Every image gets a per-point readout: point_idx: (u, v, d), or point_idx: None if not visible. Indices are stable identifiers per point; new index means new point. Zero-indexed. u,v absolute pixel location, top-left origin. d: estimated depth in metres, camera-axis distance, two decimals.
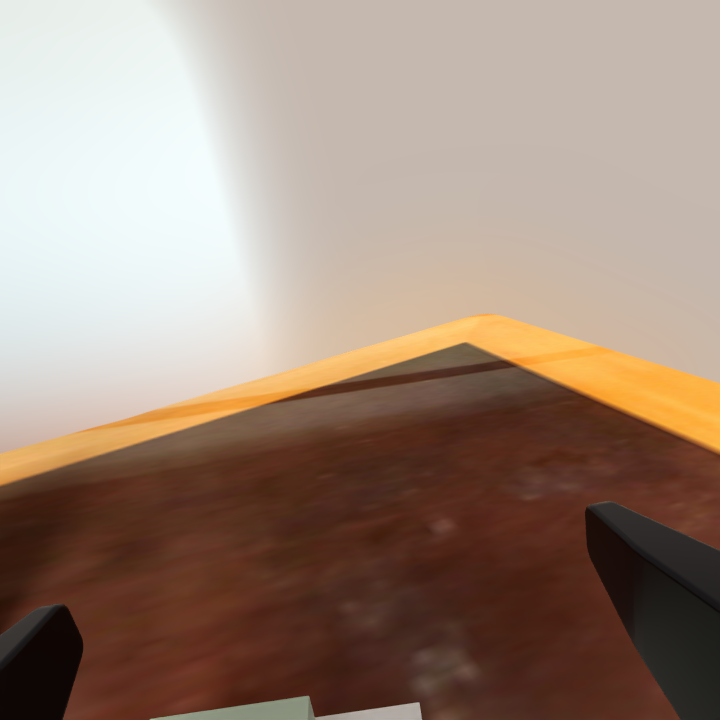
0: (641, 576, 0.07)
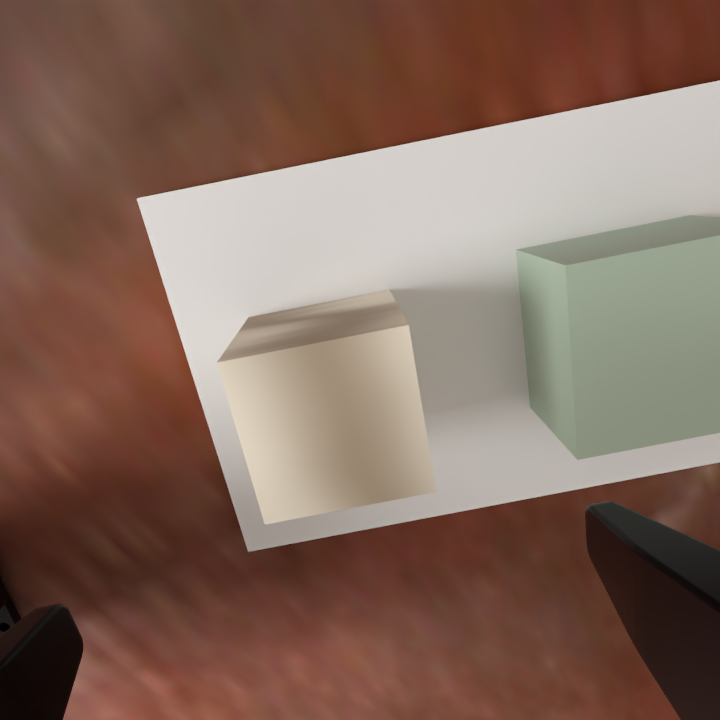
0: (641, 576, 0.07)
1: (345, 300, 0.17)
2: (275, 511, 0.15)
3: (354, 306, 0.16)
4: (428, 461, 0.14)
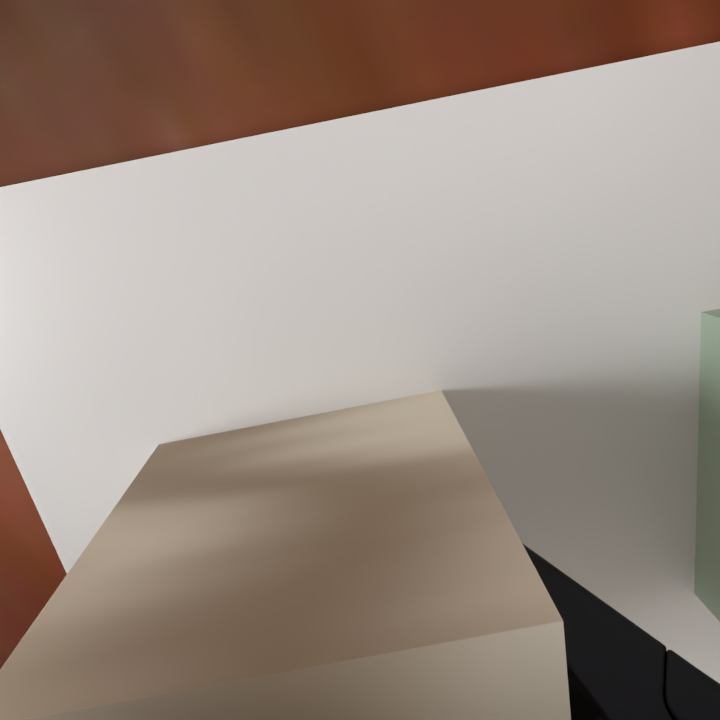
0: None
1: (353, 416, 0.08)
2: None
3: (374, 449, 0.07)
4: None
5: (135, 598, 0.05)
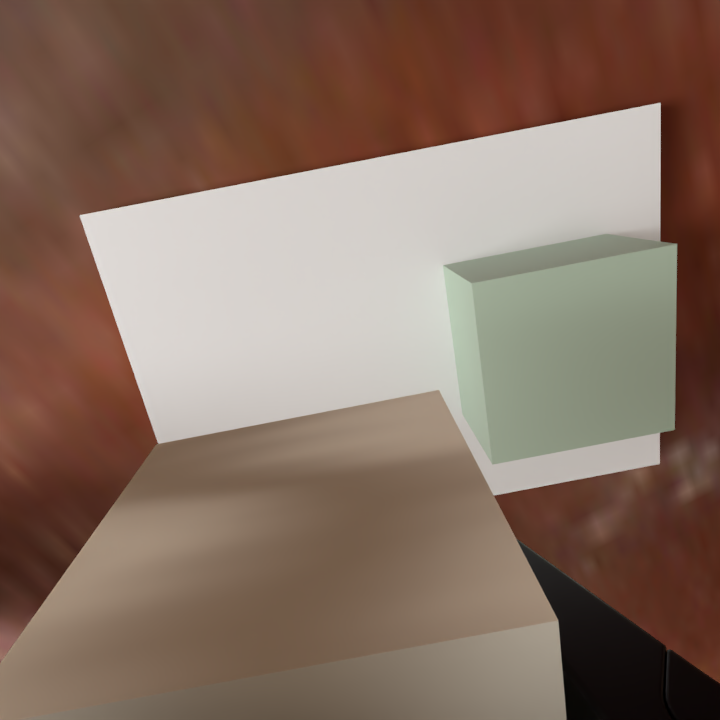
0: None
1: (351, 416, 0.08)
2: None
3: (371, 449, 0.07)
4: None
5: (131, 598, 0.05)
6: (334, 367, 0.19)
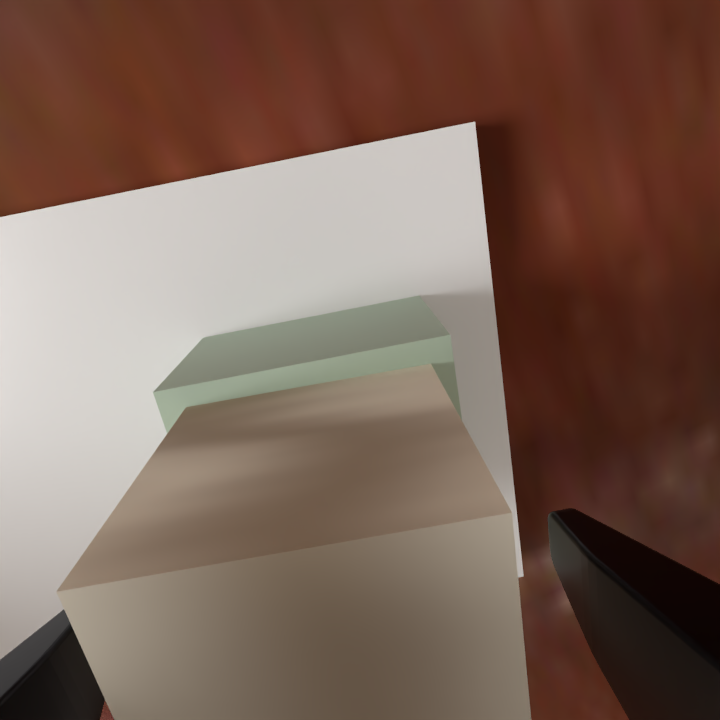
0: (595, 585, 0.07)
1: (354, 384, 0.10)
2: None
3: (372, 407, 0.09)
4: None
5: (182, 510, 0.07)
6: (79, 465, 0.15)
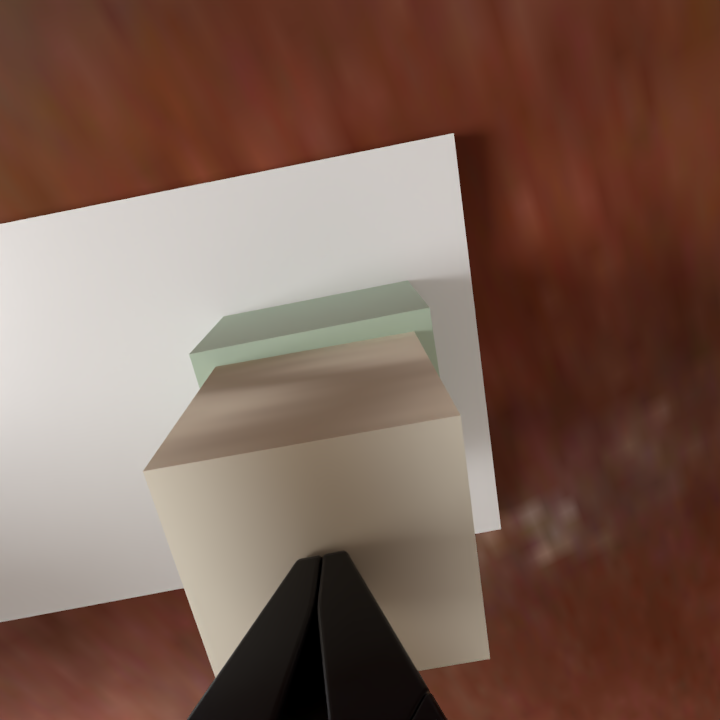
0: None
1: (352, 347, 0.12)
2: None
3: (366, 361, 0.11)
4: (480, 616, 0.09)
5: (224, 426, 0.09)
6: (115, 427, 0.17)
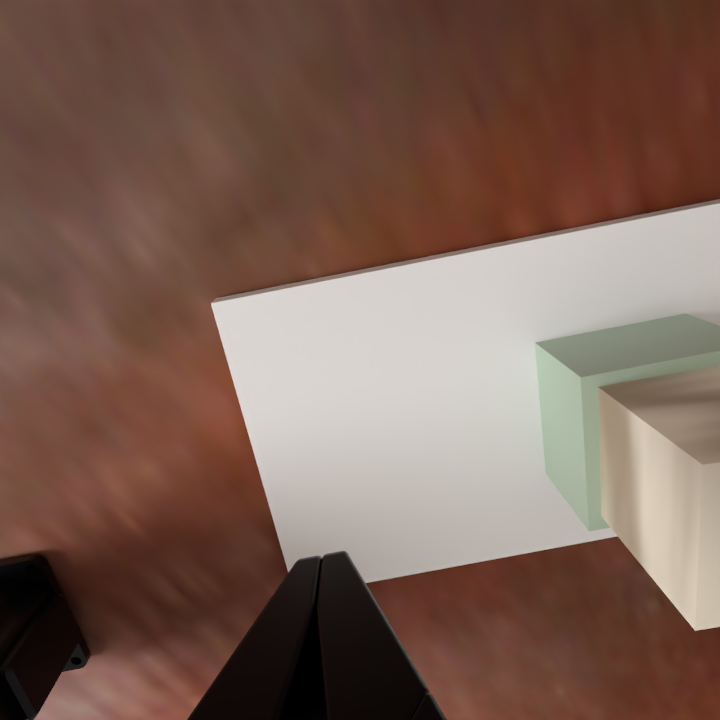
0: None
1: (711, 372, 0.16)
2: (710, 617, 0.13)
3: None
4: None
5: (711, 433, 0.13)
6: (431, 432, 0.21)
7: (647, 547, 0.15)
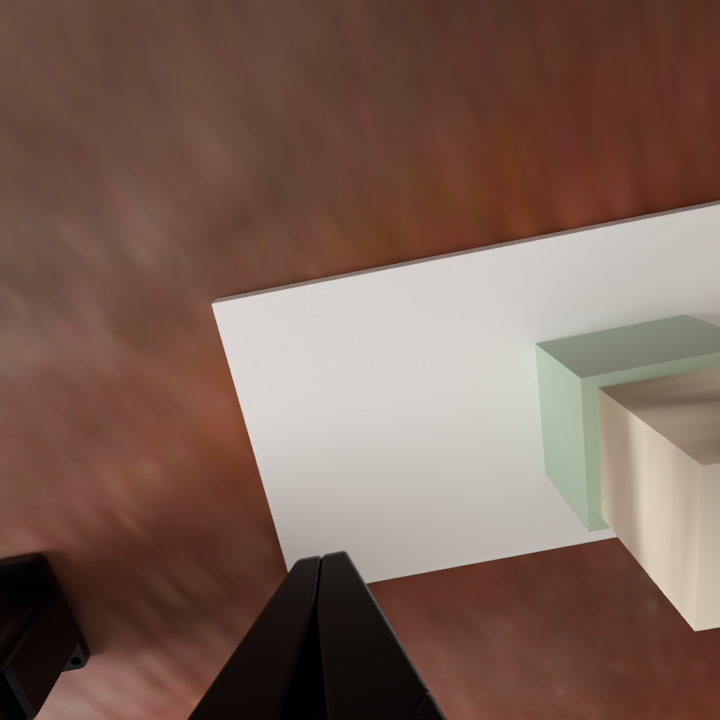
0: None
1: (711, 373, 0.16)
2: (710, 618, 0.13)
3: None
4: None
5: (711, 434, 0.13)
6: (431, 432, 0.21)
7: (647, 548, 0.15)
